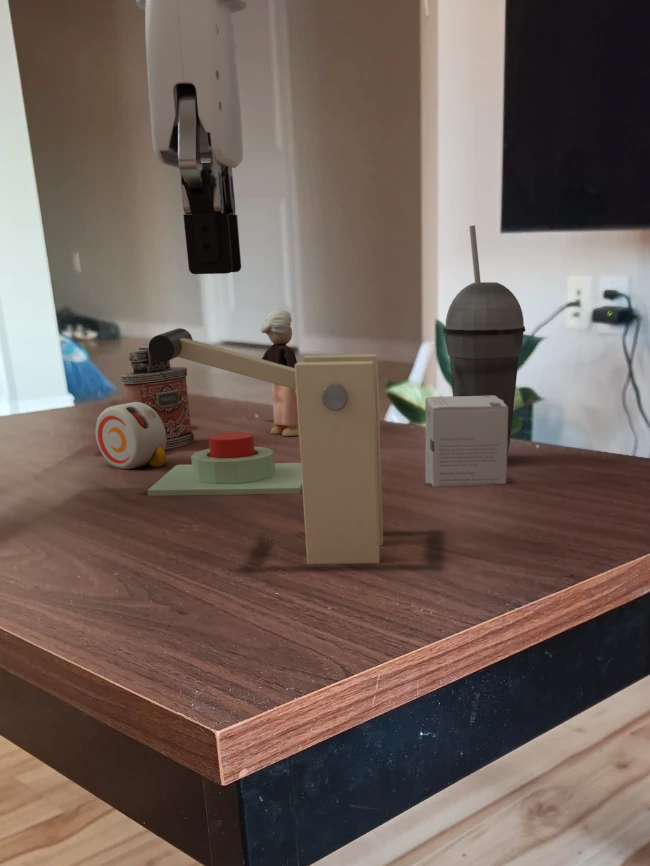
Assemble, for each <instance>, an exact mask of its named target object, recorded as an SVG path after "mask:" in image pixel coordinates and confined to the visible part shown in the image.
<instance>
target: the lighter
mask: <svg viewBox="0 0 650 866" xmlns="http://www.w3.org/2000/svg"><path fill="white" fill-rule="evenodd" d="M127 354H128V359H129V361H128V362H129V363H130V366H131V367H132V370H133V371H131V372H126V373H121V374H120V381H121V384H123V389H124V397H125V404H127V403H133V402H140V403H144V404H146V405H148V406H150V407H151V408H152V409H153V410H155V412H156V413H157V414H158V415H159V417H160V418H161V420H162V422H163V425H164V428H165V432H166V447H165V450H169V449H174V448H178V447H182V446H186V445H189V444H192V443H195V434H194V432H193V431H192V424H191V423H192V422H191V413H190V404H189V393H188V384H187V377H188V368H187V367H185V366H171V360H169V361H167V362H158V361H156V360H155V359H153V358H152V356H151V355H150V353H149V344H141V345H139V347H138V349H134V350H128V353H127Z"/></svg>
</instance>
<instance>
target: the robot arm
mask: <svg viewBox="0 0 650 866" xmlns="http://www.w3.org/2000/svg"><path fill="white" fill-rule="evenodd" d="M135 5H136V7H138V8H139V9H140V10H143V11H144V30H145V31H144V33H145V34H144V35H145V36H144V37H145V55H146V56H145V57H146V71H147V72H146V75H147V87H148V89H147V90H148V102H149V103H148V104H149V114H150V115H149V116H150V129H151V141H152V142H151V143H152V151H153V154H154V156H155V157H156V159H157V160H158V161H159V162H161V163H162V164H163V165H165V166H168V167H172V168H176V169H179V179H180V189H181V202H182V210H183V213H184V214H183V224H184V225H183V226H184V235H185V243H186V245H185V246H186V254H187V264H188V271H189V273H190V274H192V275H217V274H218V275H220V274H221V275H222V274H223V275H225V274H226V275H227V274H230V273H238V272H240V271H241V269H242V259H241V245H240V235H239V234H240V233H239V222H238V215H237V214H236V210H237V209H236V198H235V197H236V196H235V188H234V187H235V186H234V178H233V176H234V175H233V169H235V168H237V167H238V166H239V165H241V163H242V162H243V157H244V156H243V155H244V149H243V147H244V146H243V125H242V110H241V109H242V108H241V98H240V87H239V76H238V75H239V74H238V65H237V53H236V49H237V48H236V44H235V34H234V24H233V15H232V14H233V13H237V12H240V11H243V10H244V9H245V8H247V0H135Z"/></svg>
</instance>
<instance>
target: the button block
mask: <svg viewBox="0 0 650 866" xmlns="http://www.w3.org/2000/svg"><path fill="white" fill-rule="evenodd" d="M254 450H255V455H253V456H249V457H241V458H213V457H210V448H207V449H203V450H198V451H195V452H194V453H193V454H192V455H191V456H190V460H191V464H176V465H174V467H172V468H171V469H170V470H168V471H167V473H165V474H164V475H163V476H162V477H161V478H160V479H158V480H157V481H156V482H155V483H154V484H153V485H151V486H150V487H149V488H148V489H147V491H146V492H147V496H148V497H153V496H154V497H159V496H161V497H162V496H164V497H165V496H167V497H169V496H215V495H216V496H227V495H228V496H229V495H231V496H232V495H233V496H234V495H290V494H292V495H294V494H296V495H297V494H301V492H303V489H302V473H301V462H275V453H274V452H275V451H274V450H272V449H270V448H267V447H263V446H254Z"/></svg>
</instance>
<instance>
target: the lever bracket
mask: <svg viewBox="0 0 650 866" xmlns="http://www.w3.org/2000/svg"><path fill="white" fill-rule="evenodd" d="M378 363H379V361H378V354H377V353H352V354H350V353H349V354H348V353H347V354H346V353H345V354H344V353H343V354H305V355H304V356H303V357H302V362H301V361H299V362H298V361H297V363H296V364H295V379H296V389H295V391H296V396H297V410H298V426H299V435H298V439H299V440H298V441H299V456H300V463H301V473H302V502H303V518H304V519H303V520H304V534H305V550H306V551H305V553H306V564H307V565H355V564H356V565H357V564H358V565H359V564H360V565H361V564H363V565H364V564H365V565H366V564H367V565H368V564H369V565H370V564H380V560H381V547H382V546H383V545H384V522H383V521H384V520H383V519H384V518H383V491H382V490H383V489H382V488H383V487H382V463H381V462H382V459H381V458H382V457H381V454H382V453H381V427H380V426H381V425H380V424H381V423H380V421H381V420H380V399H379V398H380V395H379V394H380V393H379V392H380V391H379V364H378Z"/></svg>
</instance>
